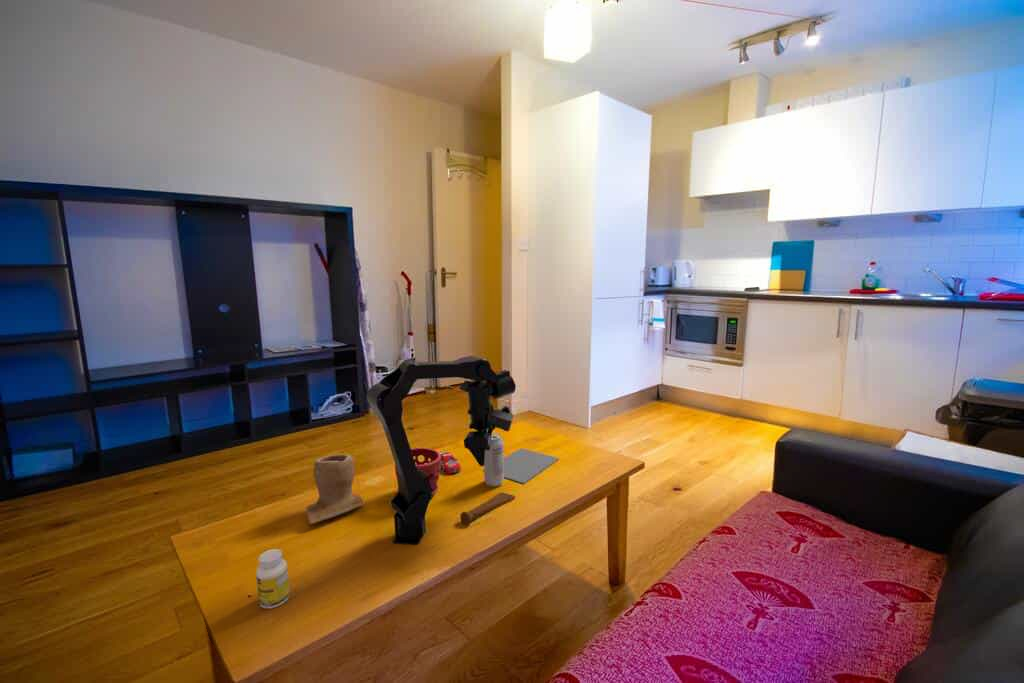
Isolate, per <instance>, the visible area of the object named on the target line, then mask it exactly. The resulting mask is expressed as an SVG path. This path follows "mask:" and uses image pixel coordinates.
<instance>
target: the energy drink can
mask: <svg viewBox="0 0 1024 683" xmlns="http://www.w3.org/2000/svg"><path fill="white" fill-rule="evenodd" d="M504 451H505V450H504V440H503V439H502V435H501V434H499V433H492V437H491V444H490V450H486V451H485V463H484V466H483V468H484V469H483V470H484V471H483V472H484V474H483V475H484V482H485V484H486V485H487V486H488V487H491V488H495V487H496V486H497V487H500V486H501V485H503V482H504V481H505V478H504V458H505V456H504Z"/></svg>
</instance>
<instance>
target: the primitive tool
mask: <svg viewBox="0 0 1024 683" xmlns="http://www.w3.org/2000/svg"><path fill="white" fill-rule="evenodd" d="M515 499H516V496H515V495H513V494H509V493H506V492H504V491H503V492H498V493H497V494H496V495H495V496H492V497H491V498H489V499H488V500H486V501H485V502H483V503H480V505H478V506H476V507H475V508H473V509H470V510H468V511H463V512H461V513H460V517H459V519H460V522H461V524H463V525H466V526H469V525H470V524H471V522H472V521H473V520H476V519H478V518H480V517H482V515H485V514H487V513H489V512H491V511H493V510H495V509H497V508H500V507H502V506H503V505H506V504H507V503H510V502H512V501H514V500H515ZM509 501H510V502H509ZM499 506H500V507H499Z"/></svg>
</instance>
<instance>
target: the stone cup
mask: <svg viewBox="0 0 1024 683" xmlns="http://www.w3.org/2000/svg"><path fill="white" fill-rule="evenodd" d="M313 465H314V466H313V477H314V481H315V484H316V488H317V491H318V499H317V501H316V502H315V503H312V504H309V505H307V506H306V507H305V508H306V509H305V510H306V516H307V521H308V523H309V524H310V525H313V524H316V523H318V522H319V523H320V522H322V521H326V520H329V519H332V518H334V517H337V516H339V515H340V516H341V515H342V514H345V513H348V512H350V511H353V510H354V509H357V508H359V507H361V506H362V505H363V504H364V500H363V497H361V496H360V495H357V494H356V493H352V492H353V491H352V490H353V489H352V486H353V482H354V477H355V461H354V458H353V457H352V455H349V454H343V453H342V454H341V453H340V454H339V453H338V454H332V455H331V454H329V455H327V456H323V457H320V458H318V459H316V460H315V462H314V464H313Z"/></svg>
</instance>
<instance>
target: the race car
mask: <svg viewBox="0 0 1024 683" xmlns="http://www.w3.org/2000/svg"><path fill="white" fill-rule="evenodd" d="M439 453H440V455H441V467H442V468H441V469H442V471H444V473H445V472H446V473H447V474H448V475H449V474H450V475H451V474H452V475H453V474H457V473H459V472H460V471H461V469H462V467H461V464H460V463H459V462H458V461H457V460H458V458H456V457H455V456H454V455H453V454H452V453H451V452H449V451H444V452H439ZM446 473H445V474H446Z"/></svg>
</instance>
